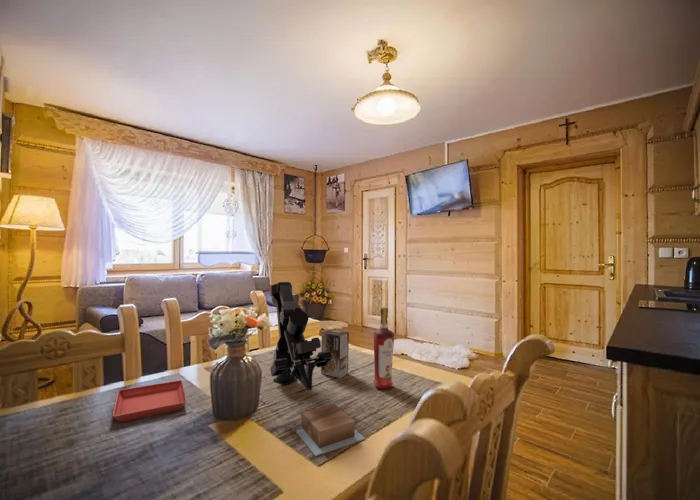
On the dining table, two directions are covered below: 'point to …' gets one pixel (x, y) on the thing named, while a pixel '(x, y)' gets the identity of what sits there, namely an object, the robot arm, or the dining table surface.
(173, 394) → the plant saucer
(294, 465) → the dining table surface
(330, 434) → the walnut block
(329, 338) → the coffee box
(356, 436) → the mat
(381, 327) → the liquor
